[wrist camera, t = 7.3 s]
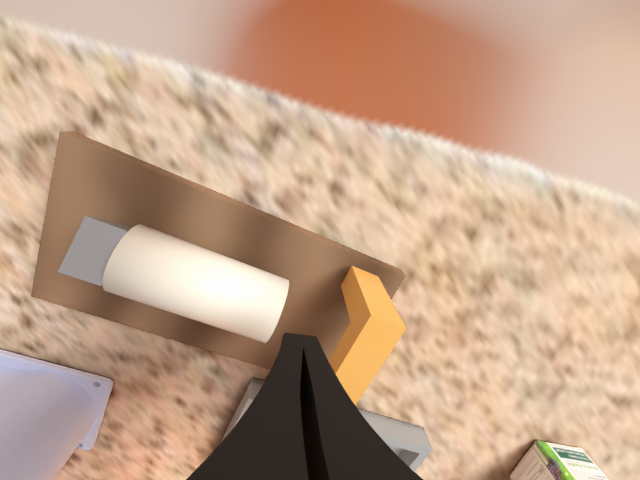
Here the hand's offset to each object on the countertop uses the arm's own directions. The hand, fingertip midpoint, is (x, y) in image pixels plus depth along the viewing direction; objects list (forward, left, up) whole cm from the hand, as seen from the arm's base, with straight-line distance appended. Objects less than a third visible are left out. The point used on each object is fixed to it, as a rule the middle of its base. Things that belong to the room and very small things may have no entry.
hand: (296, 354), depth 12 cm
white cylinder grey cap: (-5, -3, -8) cm, 10 cm away
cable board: (-4, -3, -9) cm, 11 cm away
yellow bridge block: (+4, -3, -8) cm, 9 cm away
